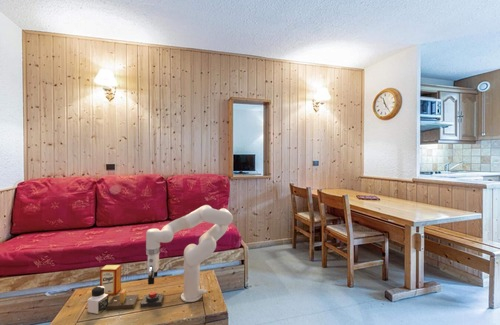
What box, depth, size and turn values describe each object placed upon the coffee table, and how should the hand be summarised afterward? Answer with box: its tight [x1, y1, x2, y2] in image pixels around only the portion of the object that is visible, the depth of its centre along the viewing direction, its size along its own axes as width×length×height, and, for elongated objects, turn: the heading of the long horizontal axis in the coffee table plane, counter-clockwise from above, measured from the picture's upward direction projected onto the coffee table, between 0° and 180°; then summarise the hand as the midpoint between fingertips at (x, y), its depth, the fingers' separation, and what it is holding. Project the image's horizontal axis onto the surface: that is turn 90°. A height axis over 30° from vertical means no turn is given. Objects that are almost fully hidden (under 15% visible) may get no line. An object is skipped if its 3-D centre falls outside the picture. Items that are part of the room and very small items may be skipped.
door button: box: [148, 291, 157, 298], centre depth 145 cm, size 4×4×2 cm
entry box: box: [140, 292, 165, 308], centre depth 145 cm, size 11×9×4 cm
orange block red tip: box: [119, 288, 127, 303], centre depth 142 cm, size 6×2×5 cm, turn 10°
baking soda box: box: [99, 264, 122, 296], centre depth 155 cm, size 10×6×16 cm
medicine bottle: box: [87, 285, 109, 315], centre depth 137 cm, size 7×7×12 cm
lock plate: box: [105, 294, 140, 312], centre depth 142 cm, size 14×10×3 cm
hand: (152, 280), depth 145 cm, fingers open, 8 cm apart
